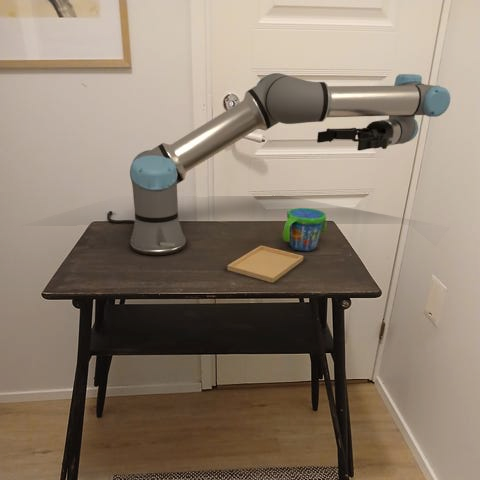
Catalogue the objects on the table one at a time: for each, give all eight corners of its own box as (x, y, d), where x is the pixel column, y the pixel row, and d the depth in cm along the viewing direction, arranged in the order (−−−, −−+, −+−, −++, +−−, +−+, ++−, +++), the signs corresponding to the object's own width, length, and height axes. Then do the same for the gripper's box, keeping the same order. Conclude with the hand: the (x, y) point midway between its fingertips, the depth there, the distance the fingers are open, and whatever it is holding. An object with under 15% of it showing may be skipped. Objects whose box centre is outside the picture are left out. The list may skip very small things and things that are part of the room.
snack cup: (311, 237, 146) (315, 204, 141) (335, 248, 139) (340, 213, 134) (270, 246, 139) (272, 211, 134) (293, 259, 131) (296, 222, 126)
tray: (227, 270, 124) (227, 265, 123) (260, 249, 137) (261, 245, 136) (272, 282, 118) (273, 278, 117) (303, 260, 131) (303, 255, 130)
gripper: (417, 153, 138) (375, 163, 125) (345, 140, 154) (301, 148, 141) (423, 125, 135) (380, 132, 122) (348, 115, 150) (304, 120, 137)
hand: (338, 141), depth 131 cm, fingers open, 13 cm apart
